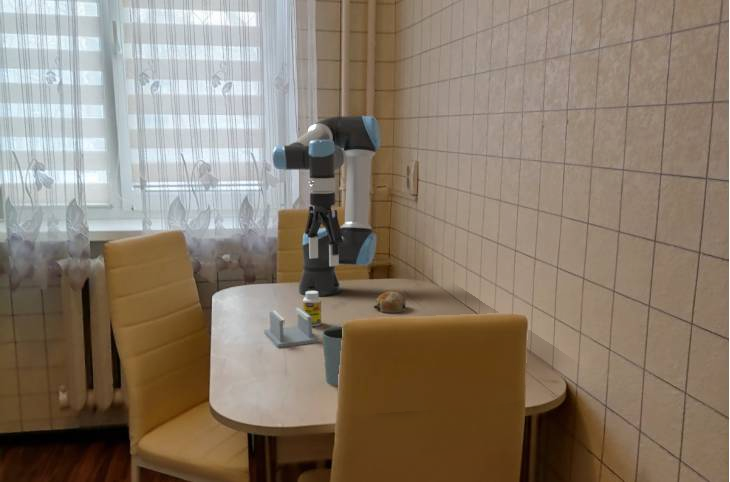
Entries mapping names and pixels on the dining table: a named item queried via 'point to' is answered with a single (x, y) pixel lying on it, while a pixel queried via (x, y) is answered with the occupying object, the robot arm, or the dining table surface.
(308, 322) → the clip cradle
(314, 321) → the supplement bottle
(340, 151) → the robot arm
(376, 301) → the brown domed lump
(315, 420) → the dining table surface
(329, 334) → the grey-green cup
